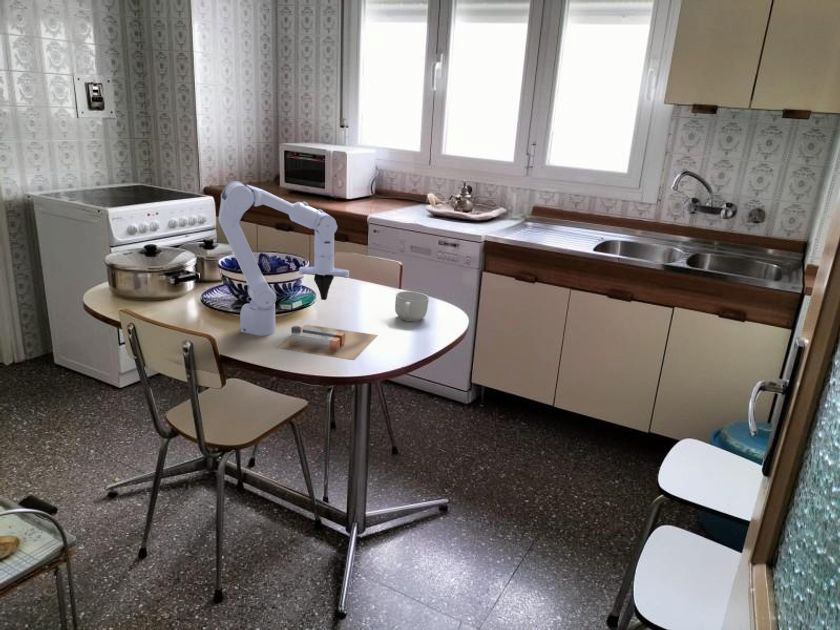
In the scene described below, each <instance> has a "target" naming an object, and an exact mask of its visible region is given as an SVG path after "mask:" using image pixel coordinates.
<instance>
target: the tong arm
mask: <svg viewBox="0 0 840 630" xmlns="http://www.w3.org/2000/svg"><path fill="white" fill-rule="evenodd" d="M303 333H309V334H315V335H322V336H329V337H335V338H340V346H342V345H343V344H344V343H345V333H343V332H337V331H330V330H324V329H318V328H311V327H305V328H304V329H303Z"/></svg>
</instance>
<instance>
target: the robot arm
mask: <svg viewBox="0 0 840 630" xmlns="http://www.w3.org/2000/svg"><path fill="white" fill-rule="evenodd" d="M219 205H220V206H219V211H218V222H219V225H220V226H221V229H222V232H223V233H224V235H225V239H227V241H228V242H227V243H228V244H229V247H230V249H231V251H232V252H233V255H234V257H235V259H236V261H237V263H238V265H239V267H240V269H241V271H242V272H241V273H242V274H243V277H244V278H245V282H246V285H247V293H248V296H249V297H250V299H251V300H250V302H249V303H245V304H244V305H242V306H241V308H240V309H241V310H240V313H239V317H240V318H239V319H240V333H245V334H251V335H254V336H261V337H263V336H265V337H266V336H271V335H274V334H275V333H276V302H277V293H276V292H275V291H274V289H272V288H271V286H270V285H269V284H268V282H267V280H266V279H265V277H264V275H263V273H262V271H261V268H260V267H259V265H258V262H257V260H256V258H255V256H254V253H253V252H252V249H251V247H250V245H249V242H248V240H247V237H246V236H245V233H244V230H243V229H242V227H241V225H240V221H241V220H242V217H243V215H244V213H246V211H248V210H249V209H250V208H251V207H252V206H254V207H259V206H262V205H264V206H267V207H270V208H272V209H274V210H276V211H279V212H282V213H284V214H286V215H288V217H289V219H290V221H291V222H294V223H296V224H299V225H301V226H303V227H306V228H308V229H311V230H314V241H313V243H314V244H313V245H314V248H313V249H314V251H313V252H314V253H313V254H314V261H313V262H314V266H300V267H299V268H298V270H299V271H298V273H299V274H298V275H303V276H304V275H309V276H310V275H311V276H314V278H313V281H314V283H315V285H316V287H317V288H318V291H319V294H320V300H321V301H327V299H328V294H329V290H330V288H331V285H332V283H333V281H334V278H335V277H338V278H345V279H348V278H349V277H350V270H349V269H343V268H338V267H337V268H336V267H335V233H336V232H337V230H338V224H337V221H336V219H335V218H334V217H333V216H331V215H330V214H328V213H326V212H325V211H323V210H322V209H321V208H318V209H317V208H314V207H312V206H310V205H309V203H308V202H306V201H302V202H300V201H297V202H295V203H291V202H290V201H287V200H285V199H283V198H281V197H279V196H277V195H274V194H272V193H271V192H269V191H266V190H264V189H262V188H259V187H256V186H253V185H251V184H250V185H249V184H244V183H243V182H241V181H236V180H235V181H231V182H229V183H227V185H226V186H225V187H224V188H223V191H222V192H221V194H220V204H219Z"/></svg>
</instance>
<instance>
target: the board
mask: <svg viewBox="0 0 840 630" xmlns="http://www.w3.org/2000/svg"><path fill="white" fill-rule="evenodd" d="M305 327H311V328H318V329H324V330H330V331H337V332H343V333H345V343H344V344H343V345H342V346H340V349H339V350H338V351H331V350H324V349H318V348H312V347H305V346H299V345H292V344H291V335H290V336H288V337H287V338H286V339H285V340H283V341H282V342H280V343H279V344H278V345H277V346H275V349H280V350H281V349H282V350H288V351H293V352H299V353H306V354H311V355H312V354H313V355H318V356H319V355H320V356H325V357H331V358H338V359H344V360H345V359H346V360H351V361H355V360H356V359H357V358H358V357H359V356H360V355H361V353H362V352H364V351H365V350H366V349H367V347H369V345H370V344H371V343H372V342H373V341H374V340H375V339H376V338H377V337H378V336H379V335H378V334H375V333H366V332H358V331H353V330H348V329H338V328H332V327H326V326H319V325H312V324H305V325H304V326H302V327H301V332H302V333H303V329H304V328H305Z"/></svg>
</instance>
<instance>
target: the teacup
mask: <svg viewBox="0 0 840 630" xmlns="http://www.w3.org/2000/svg"><path fill="white" fill-rule="evenodd" d="M429 301H430V297H429V296H428V294H425V293H423V292H420V291H419V292H418V291H412V290H407V291H406V290H405V291H398V292H396V293H395V302H394V304H395V305H394V311H395V313H396V315H397V316H398V317H399V318H400V320H403V321H407V322H419V321H420V320H421V319H422V320H423V318H425V317H426V316H427V312H428V307H429Z"/></svg>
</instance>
